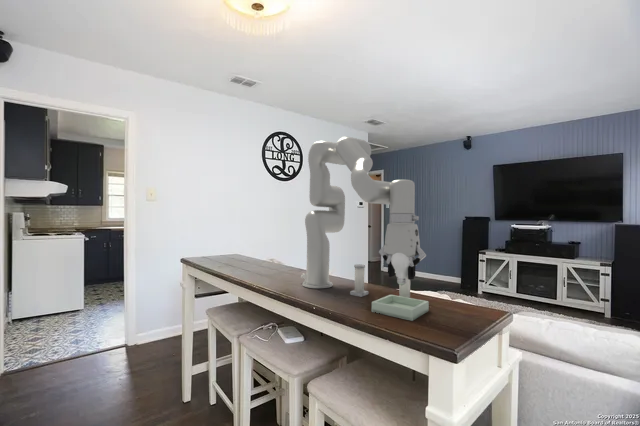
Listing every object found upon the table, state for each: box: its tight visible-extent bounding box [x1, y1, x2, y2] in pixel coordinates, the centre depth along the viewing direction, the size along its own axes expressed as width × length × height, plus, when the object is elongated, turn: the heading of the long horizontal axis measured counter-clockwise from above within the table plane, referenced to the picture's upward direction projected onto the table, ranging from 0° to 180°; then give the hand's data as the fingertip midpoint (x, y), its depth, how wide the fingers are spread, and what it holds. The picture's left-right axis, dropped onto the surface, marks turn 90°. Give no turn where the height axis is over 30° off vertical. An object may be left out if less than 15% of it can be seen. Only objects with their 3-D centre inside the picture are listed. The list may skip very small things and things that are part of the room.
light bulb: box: [391, 253, 413, 285], centre depth 99 cm, size 7×7×11 cm
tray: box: [371, 294, 430, 322], centre depth 99 cm, size 13×13×3 cm
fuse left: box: [349, 263, 369, 297], centre depth 120 cm, size 5×5×11 cm
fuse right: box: [398, 275, 411, 298], centre depth 109 cm, size 5×5×11 cm
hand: (401, 277), depth 99 cm, fingers closed on light bulb, 5 cm apart
